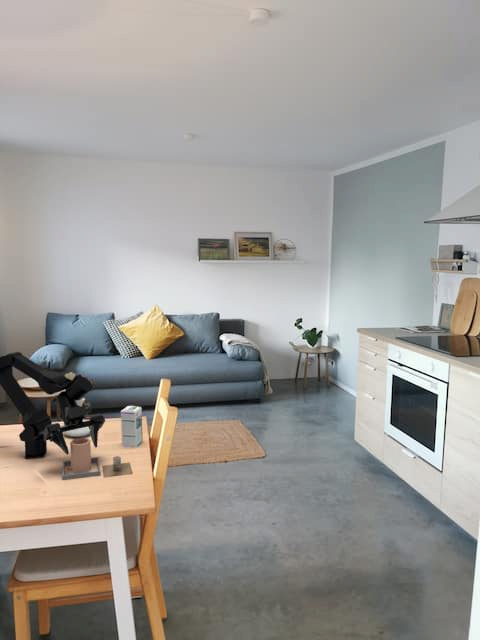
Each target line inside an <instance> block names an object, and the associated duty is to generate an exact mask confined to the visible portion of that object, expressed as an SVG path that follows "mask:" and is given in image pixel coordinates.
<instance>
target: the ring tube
mask: <svg viewBox="0 0 480 640" xmlns="http://www.w3.org/2000/svg"><path fill="white" fill-rule="evenodd" d="M69 445H70V446H69V447H70V460H71V465H68V467H67V471H71V473H72V474H77V473H86V472H91V471H92V462H91V458H92V452H91V450H92V449H91V448H92V447H91V440H90V439H89V438H86V437H80V438H74V439H72V441H70V442H69Z"/></svg>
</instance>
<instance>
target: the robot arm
mask: <svg viewBox="0 0 480 640" xmlns="http://www.w3.org/2000/svg"><path fill="white" fill-rule="evenodd" d="M13 368H15V369H16V370H18V371H19V372H20V373H23V375H25V376H27V377H29V378H31V379H32V380H34V381H35V382H36V383H37V384H38V387H39V389H41V390H42V391H43V392H44V393H45V394H46V395H48V396H49V395H50V396H51V395H54V394H55V396H54V398H53V399H52V403H53V404H57V405H58V408H59V411H60V414H61V415H60V419H62V421H63V425H61V424H60V423H59V422H55V423H52V419H51V418H52V417H51V416H50V414H49V413H47V410H46V409H45V408H41V409H38V408H37V407H36V406H35V405H34V404H33V402H32V401H31V399H30V398H29V396H28V395H27V393H26V392H25V391H24V389H23V388H22V387H21V385H20V383H19V382H18V381H17V379H16V378H15V377H14V374H13V373H14V372H13V370H14V369H13ZM0 386H1V388H2V389H3V390H4V393H5V394H6V395H7V396H8V398H9V399H10V401H11V402H12V404H13V405H14V407H15V408H16V410H17V411H18V412H19V414H20V415H21V417H22V418H21V419H22V427H23V430H22V431H21V432H20V433H19V434H18V437H19V440H20V442H24V459H35V458H45V457H46V454H47V453H48V445H47V444H48V442H47V441H49V442H50V443H51V442H53V443H54V444H55V445H57V446H58V447H59V448H60V449H61V450H62V451H63V452H64V453H65V454H66V455H69V454H70V451H69V448H68V446H67V441H66V440H65V437H64V432H66V431H70V430H75V429H80V428H84V427H89V429H90V434H89V435H90V438H91V440H92V444H93V446H94V447H95V448H97V447H98V441H99V440H98V437H99V431H100V429H102V427H103V425H104V423H105V422H106V419H105V416H104V415H103V414H102V413H100V414H96V415H91V416H90V418H89V419H88V420H86V416H88V414H89V413H91V412H92V411H93V410H92V405H91V403H90V402H83V404H82V406H79V405H77V402H76V400H81V399H82V398H85V396H86V395H88V394H89V393H90V392H92V390H93V388H94V387H93V386H94V385H93V383H92V382H91V380H90V379H88V378H87V377H84V376H82V375H81V374H77V375H76V374H75V377H74V378H73V380H71V379H68V378H66V377H65V374H62V373H60V372H57V371H55V370H49V369H45V368H44V367H43V366H41V365H39V364H37V363H36V362H35V361H33V360H31V359H30V358H28V357H27V356H24V355H23V353H22V352H20V351H13V352H8V354H6V355H0ZM57 393H58V394H57ZM84 419H85V420H86V421H84V422H83V420H84ZM95 448H94V449H95Z"/></svg>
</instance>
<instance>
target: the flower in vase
mask: <svg viewBox="0 0 480 640" xmlns="http://www.w3.org/2000/svg"><path fill="white" fill-rule="evenodd" d="M64 376H65V377H66V378H68V379H71V380H73V378H74V377H75V376H76V373H75V372H74V373H73V371H71V372H70V371H69V372H68V373H66V374H64ZM85 400H86V398H85V397H83V398H82V399H81V400H76V402H77V405H79V406H83V404H84V403H85ZM84 421H87V420H86V418H85V419H84V420H83V422H84ZM63 434H65V435H66V436H68V437H69V436H70V437H77V438H78V437H84V436H88V435H90V429H89V427H84V428H80V429H75V430H70V431H66V432H63Z"/></svg>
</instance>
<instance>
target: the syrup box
mask: <svg viewBox="0 0 480 640" xmlns="http://www.w3.org/2000/svg"><path fill="white" fill-rule="evenodd" d="M142 410H143V408H142V406H138V405H127V406H126V407H125V408H123V409H122V410H120V421H121V422H120V424H121V427H120V428H121V446H122V447H125V448H127V447H128V448H138V447H139V446H140V445H141V444H143V442H144V441H143V440H144V439H143V412H142Z"/></svg>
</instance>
